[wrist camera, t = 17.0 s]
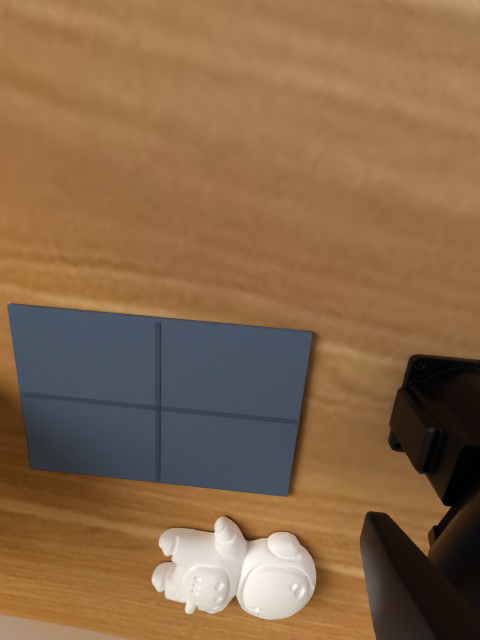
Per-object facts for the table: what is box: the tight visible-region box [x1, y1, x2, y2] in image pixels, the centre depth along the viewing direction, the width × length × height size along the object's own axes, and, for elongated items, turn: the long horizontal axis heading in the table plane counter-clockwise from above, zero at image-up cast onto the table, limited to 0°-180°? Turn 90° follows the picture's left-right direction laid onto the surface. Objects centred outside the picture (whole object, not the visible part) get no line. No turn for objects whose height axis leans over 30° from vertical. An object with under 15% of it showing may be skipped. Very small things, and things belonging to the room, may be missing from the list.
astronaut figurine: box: [152, 516, 316, 620], centre depth 25 cm, size 9×12×3 cm
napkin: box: [7, 303, 313, 497], centre depth 22 cm, size 18×12×1 cm, turn 86°
